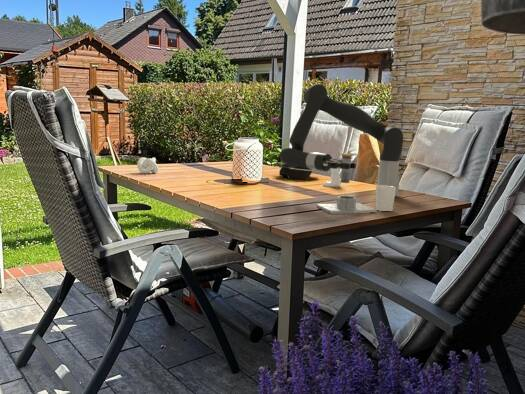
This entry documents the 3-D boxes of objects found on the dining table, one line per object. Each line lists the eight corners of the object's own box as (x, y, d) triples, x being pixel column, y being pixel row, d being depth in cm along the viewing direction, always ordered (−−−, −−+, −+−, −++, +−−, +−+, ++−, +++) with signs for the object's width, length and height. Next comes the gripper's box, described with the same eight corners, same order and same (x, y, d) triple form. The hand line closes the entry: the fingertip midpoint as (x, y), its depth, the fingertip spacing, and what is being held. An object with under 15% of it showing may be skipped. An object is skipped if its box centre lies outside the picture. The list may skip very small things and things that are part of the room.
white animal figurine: (140, 174, 278) (140, 159, 277) (134, 172, 288) (134, 156, 287) (159, 174, 284) (159, 158, 282) (153, 171, 294) (153, 156, 292)
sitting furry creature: (335, 184, 268) (336, 162, 266) (346, 187, 261) (347, 164, 259) (322, 185, 263) (323, 163, 261) (332, 188, 256) (334, 165, 254)
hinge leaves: (359, 205, 212) (360, 193, 211) (375, 212, 199) (376, 200, 198) (316, 206, 206) (317, 194, 205) (330, 214, 193) (331, 201, 192)
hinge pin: (347, 181, 207) (349, 152, 204) (352, 183, 202) (354, 154, 200) (337, 181, 205) (339, 152, 203) (342, 183, 201) (344, 153, 199)
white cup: (385, 213, 199) (387, 188, 197) (370, 209, 205) (372, 185, 203) (397, 211, 204) (399, 187, 202) (382, 207, 210) (384, 184, 208)
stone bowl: (267, 174, 296) (269, 159, 295) (303, 176, 307) (305, 162, 306) (287, 180, 274) (288, 163, 273) (324, 182, 285) (326, 166, 284)
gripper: (309, 153, 207) (342, 157, 195) (329, 152, 217) (362, 156, 205) (308, 171, 208) (341, 176, 196) (328, 169, 218) (361, 174, 206)
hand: (352, 166), depth 201 cm, fingers closed on hinge pin, 3 cm apart
